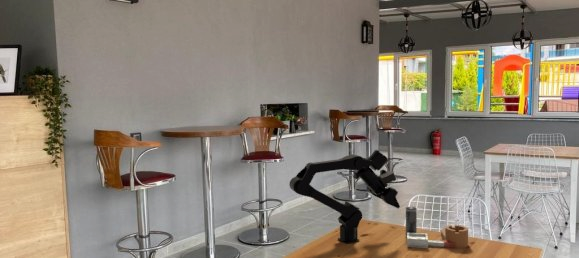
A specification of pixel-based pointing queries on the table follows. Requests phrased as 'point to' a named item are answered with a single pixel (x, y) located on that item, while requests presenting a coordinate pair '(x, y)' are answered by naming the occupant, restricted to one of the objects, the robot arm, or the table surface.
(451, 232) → the bracket
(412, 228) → the dark metal cylinder
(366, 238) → the table surface
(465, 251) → the table surface
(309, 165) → the robot arm
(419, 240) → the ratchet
